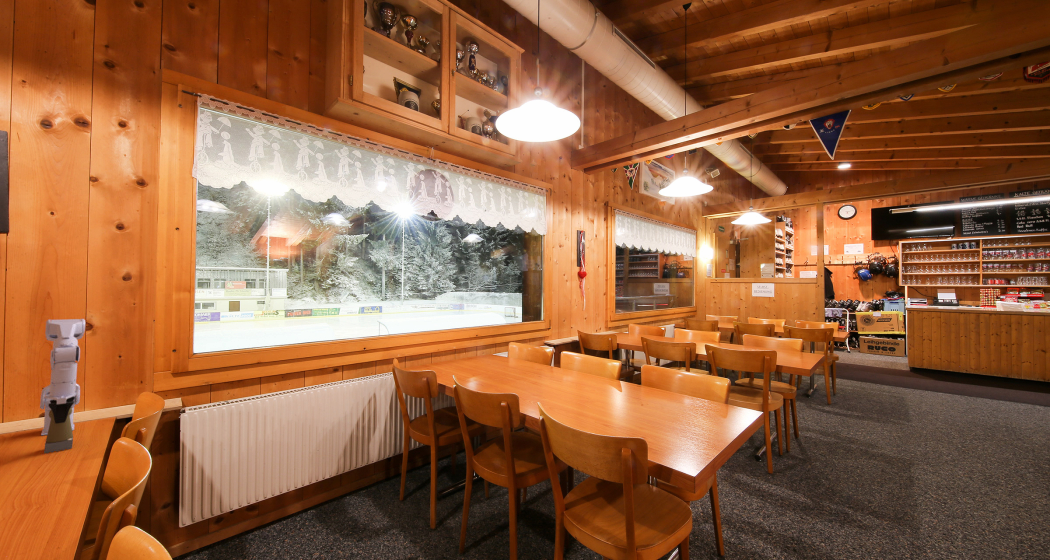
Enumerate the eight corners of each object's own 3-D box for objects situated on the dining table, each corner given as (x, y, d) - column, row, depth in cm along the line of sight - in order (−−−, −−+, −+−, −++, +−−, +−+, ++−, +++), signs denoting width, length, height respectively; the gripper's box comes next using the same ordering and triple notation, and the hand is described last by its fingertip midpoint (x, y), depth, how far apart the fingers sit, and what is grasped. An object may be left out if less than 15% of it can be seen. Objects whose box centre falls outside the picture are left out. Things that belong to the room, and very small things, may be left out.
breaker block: (45, 448, 131) (46, 439, 131) (72, 444, 135) (73, 434, 135) (44, 453, 127) (44, 443, 127) (72, 448, 131) (72, 439, 131)
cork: (78, 436, 134) (79, 405, 134) (55, 443, 128) (56, 410, 128) (63, 435, 135) (65, 404, 135) (40, 442, 129) (41, 409, 129)
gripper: (46, 380, 134) (43, 419, 133) (43, 386, 124) (40, 428, 124) (77, 377, 139) (74, 414, 138) (76, 383, 130) (73, 423, 129)
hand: (60, 420), depth 131 cm, fingers closed on cork, 5 cm apart
